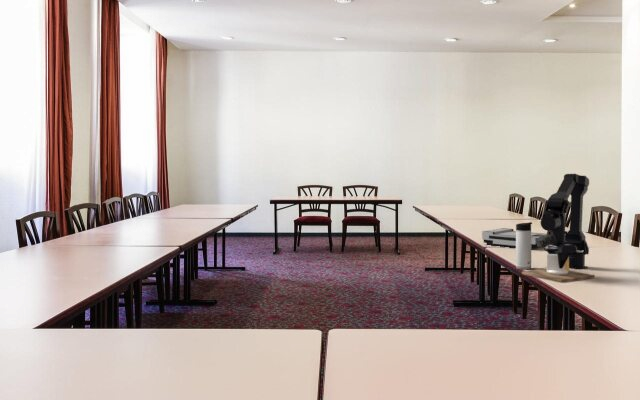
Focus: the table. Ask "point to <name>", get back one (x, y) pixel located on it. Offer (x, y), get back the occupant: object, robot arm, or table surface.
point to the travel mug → (523, 246)
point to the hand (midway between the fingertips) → (557, 267)
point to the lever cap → (556, 265)
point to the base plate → (558, 278)
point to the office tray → (506, 237)
